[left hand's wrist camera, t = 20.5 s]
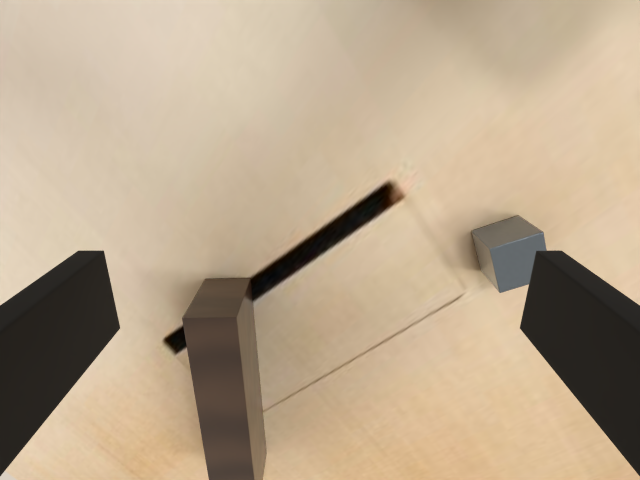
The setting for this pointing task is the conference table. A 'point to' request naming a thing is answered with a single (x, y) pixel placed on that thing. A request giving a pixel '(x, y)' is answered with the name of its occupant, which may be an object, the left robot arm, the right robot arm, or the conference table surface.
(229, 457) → the walnut bar
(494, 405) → the conference table surface
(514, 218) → the grey block
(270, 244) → the conference table surface
